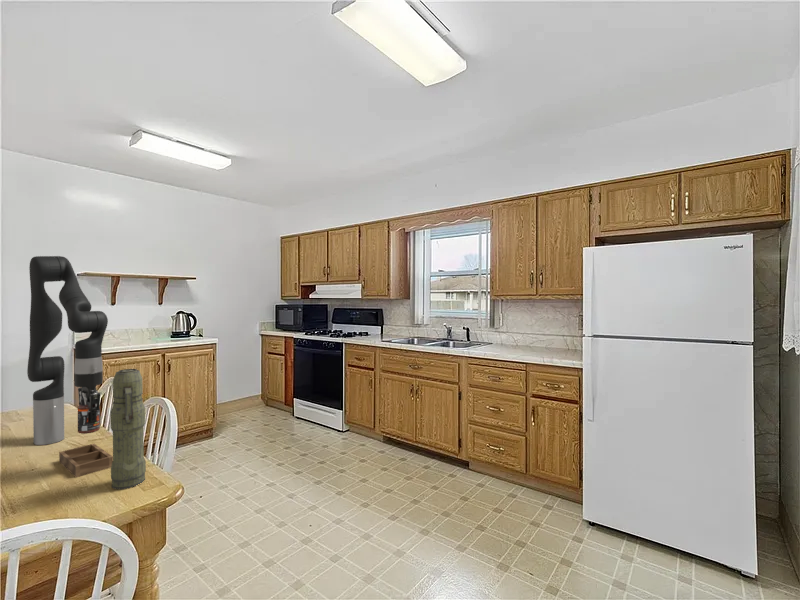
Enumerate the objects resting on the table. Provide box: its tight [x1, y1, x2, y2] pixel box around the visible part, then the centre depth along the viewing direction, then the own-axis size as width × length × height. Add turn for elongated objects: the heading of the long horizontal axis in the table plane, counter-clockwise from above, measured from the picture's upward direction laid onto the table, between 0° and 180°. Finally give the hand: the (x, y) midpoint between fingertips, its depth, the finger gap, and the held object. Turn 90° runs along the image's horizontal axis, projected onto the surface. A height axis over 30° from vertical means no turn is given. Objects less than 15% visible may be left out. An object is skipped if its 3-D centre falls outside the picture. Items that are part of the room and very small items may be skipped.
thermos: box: [110, 368, 147, 490], centre depth 125 cm, size 9×12×35 cm
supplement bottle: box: [77, 398, 101, 435], centre depth 136 cm, size 6×6×11 cm
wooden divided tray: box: [58, 443, 113, 478], centre depth 139 cm, size 19×10×4 cm, turn 52°
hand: (89, 420), depth 136 cm, fingers closed on supplement bottle, 6 cm apart
